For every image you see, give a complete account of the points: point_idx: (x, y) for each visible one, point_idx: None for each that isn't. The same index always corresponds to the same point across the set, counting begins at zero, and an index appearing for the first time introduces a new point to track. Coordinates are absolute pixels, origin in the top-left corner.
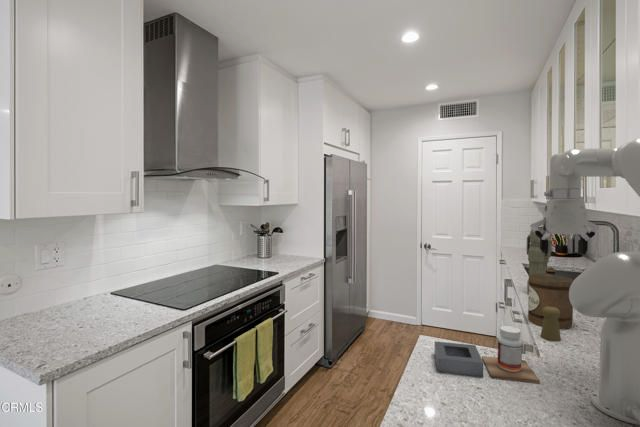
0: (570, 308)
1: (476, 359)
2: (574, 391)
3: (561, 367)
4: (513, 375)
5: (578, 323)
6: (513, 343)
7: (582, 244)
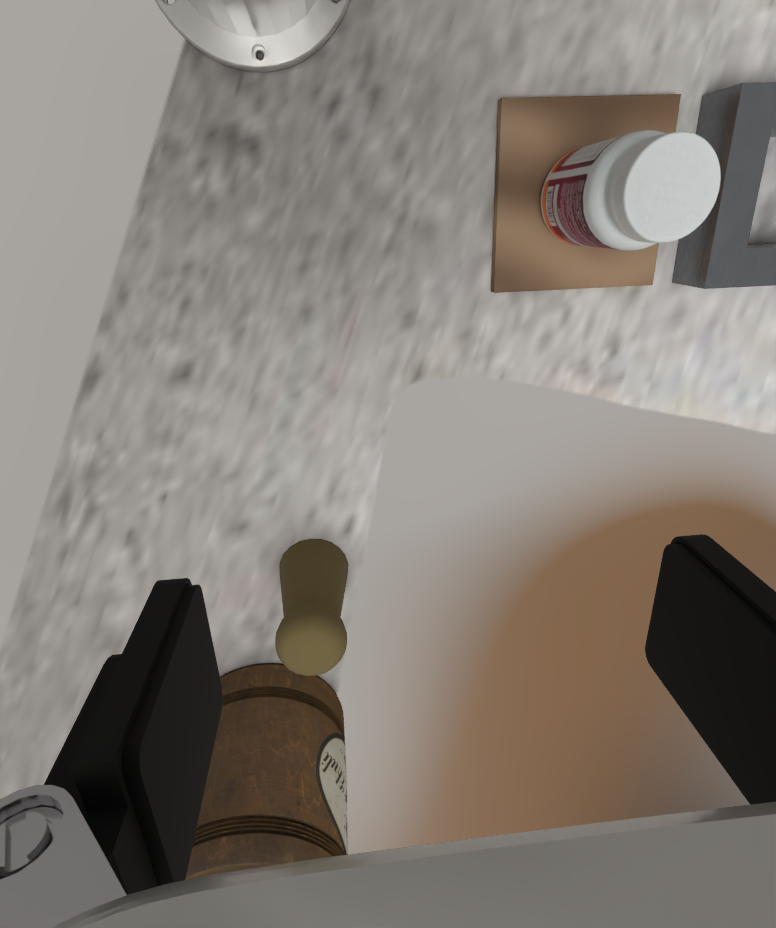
0: None
1: (757, 118)
2: (386, 65)
3: (362, 290)
4: (591, 119)
5: None
6: (649, 130)
7: (161, 720)
